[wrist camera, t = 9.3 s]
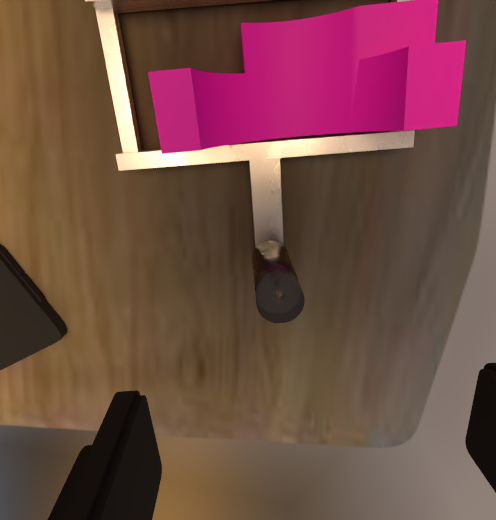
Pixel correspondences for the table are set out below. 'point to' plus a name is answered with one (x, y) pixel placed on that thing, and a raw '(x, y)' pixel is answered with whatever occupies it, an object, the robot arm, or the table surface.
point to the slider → (231, 159)
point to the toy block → (318, 80)
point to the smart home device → (23, 315)
